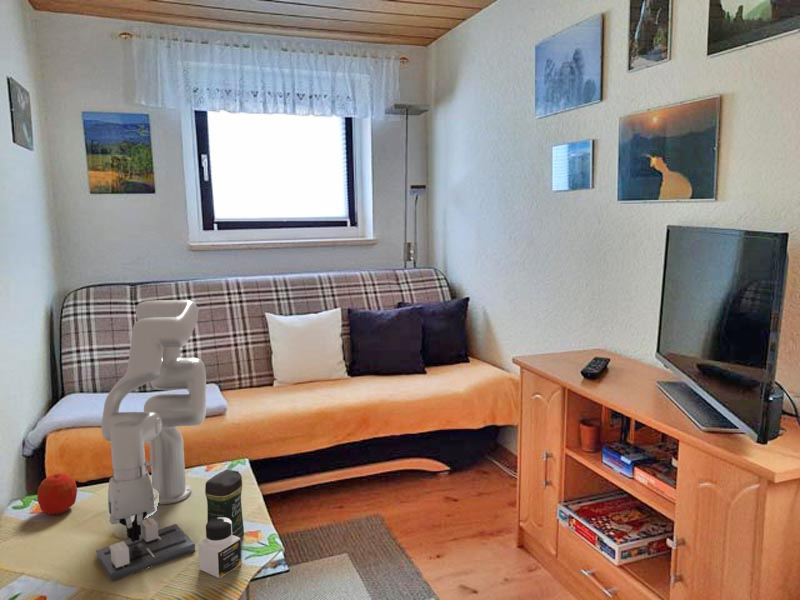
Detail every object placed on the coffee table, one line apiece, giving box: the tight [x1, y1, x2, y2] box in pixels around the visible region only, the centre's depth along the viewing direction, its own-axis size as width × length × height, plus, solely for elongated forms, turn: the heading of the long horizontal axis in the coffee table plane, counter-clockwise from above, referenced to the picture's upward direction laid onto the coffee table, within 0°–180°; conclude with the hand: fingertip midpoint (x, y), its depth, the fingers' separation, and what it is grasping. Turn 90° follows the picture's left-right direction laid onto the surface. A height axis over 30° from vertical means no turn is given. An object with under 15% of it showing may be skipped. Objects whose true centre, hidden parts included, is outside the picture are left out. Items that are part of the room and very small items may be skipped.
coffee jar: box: [204, 469, 245, 540], centre depth 156 cm, size 10×8×19 cm
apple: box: [36, 473, 78, 516], centre depth 173 cm, size 10×10×12 cm
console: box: [95, 523, 196, 583], centre depth 151 cm, size 13×20×2 cm, turn 130°
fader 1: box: [109, 540, 130, 568], centre depth 144 cm, size 4×3×4 cm
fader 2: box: [140, 517, 159, 542], centre depth 155 cm, size 4×3×4 cm
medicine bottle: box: [198, 517, 242, 579], centre depth 145 cm, size 7×7×12 cm
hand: (134, 538), depth 153 cm, fingers closed
